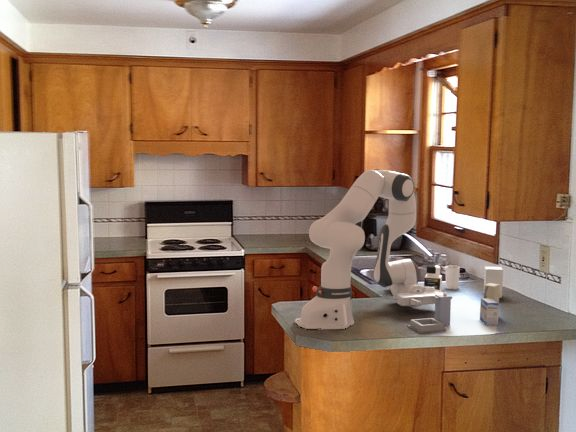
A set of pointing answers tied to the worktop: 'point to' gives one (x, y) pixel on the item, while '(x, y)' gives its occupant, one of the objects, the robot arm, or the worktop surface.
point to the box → (492, 292)
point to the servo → (443, 308)
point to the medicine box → (489, 311)
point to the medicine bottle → (433, 277)
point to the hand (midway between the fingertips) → (430, 303)
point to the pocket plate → (426, 325)
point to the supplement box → (494, 277)
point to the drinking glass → (452, 276)
